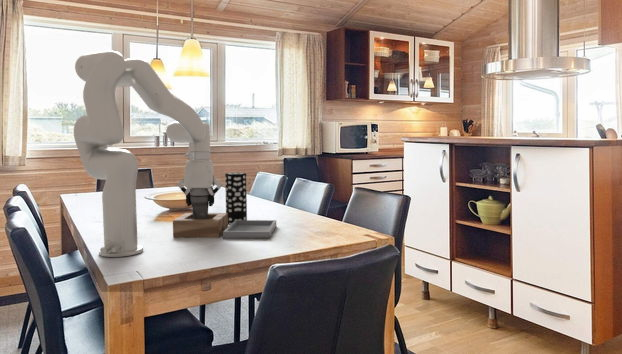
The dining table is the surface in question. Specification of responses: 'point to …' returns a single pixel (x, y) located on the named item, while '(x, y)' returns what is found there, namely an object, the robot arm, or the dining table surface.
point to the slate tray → (250, 229)
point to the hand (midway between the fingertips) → (200, 205)
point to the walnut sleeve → (200, 226)
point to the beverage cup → (199, 203)
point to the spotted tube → (236, 196)
